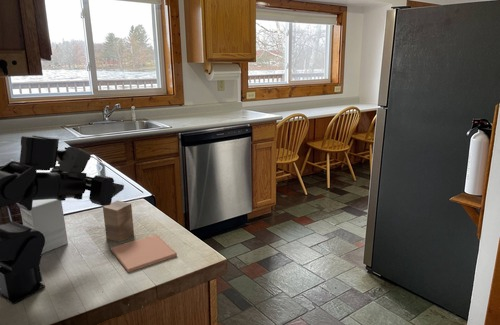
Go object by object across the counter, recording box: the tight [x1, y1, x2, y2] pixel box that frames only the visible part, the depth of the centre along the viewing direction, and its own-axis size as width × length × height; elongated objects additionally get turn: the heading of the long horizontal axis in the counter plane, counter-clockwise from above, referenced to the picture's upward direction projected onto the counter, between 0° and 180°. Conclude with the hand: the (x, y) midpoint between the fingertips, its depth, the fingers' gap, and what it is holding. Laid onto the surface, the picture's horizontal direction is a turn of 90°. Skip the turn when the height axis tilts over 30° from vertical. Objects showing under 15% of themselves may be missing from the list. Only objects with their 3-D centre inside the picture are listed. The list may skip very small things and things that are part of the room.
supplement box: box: [19, 199, 69, 254], centre depth 93 cm, size 7×7×13 cm
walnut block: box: [102, 200, 135, 243], centre depth 98 cm, size 5×5×9 cm
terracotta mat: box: [110, 233, 178, 273], centre depth 91 cm, size 12×12×1 cm
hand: (110, 183), depth 92 cm, fingers open, 9 cm apart
